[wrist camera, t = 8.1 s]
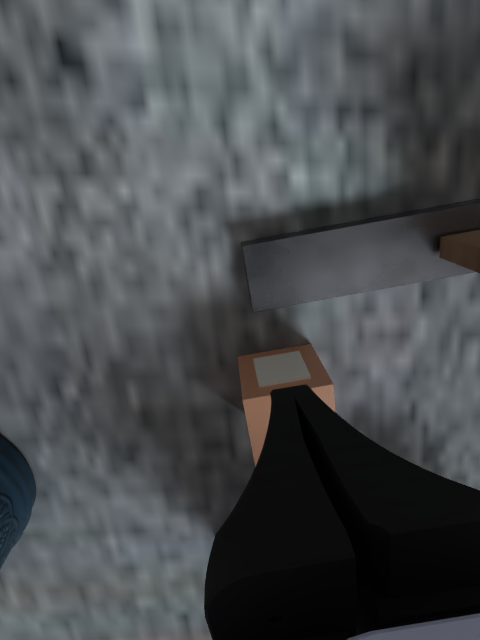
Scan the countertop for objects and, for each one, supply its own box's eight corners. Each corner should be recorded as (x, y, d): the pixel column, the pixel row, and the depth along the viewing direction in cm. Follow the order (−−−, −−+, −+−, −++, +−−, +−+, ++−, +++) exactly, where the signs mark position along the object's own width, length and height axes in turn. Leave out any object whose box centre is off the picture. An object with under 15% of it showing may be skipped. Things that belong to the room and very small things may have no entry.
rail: (251, 305, 22) (253, 311, 21) (241, 242, 21) (242, 246, 20) (629, 236, 22) (651, 240, 21) (647, 168, 20) (672, 168, 19)
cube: (248, 415, 26) (255, 468, 21) (236, 353, 24) (242, 397, 19) (316, 403, 26) (338, 453, 21) (310, 340, 24) (333, 381, 19)
